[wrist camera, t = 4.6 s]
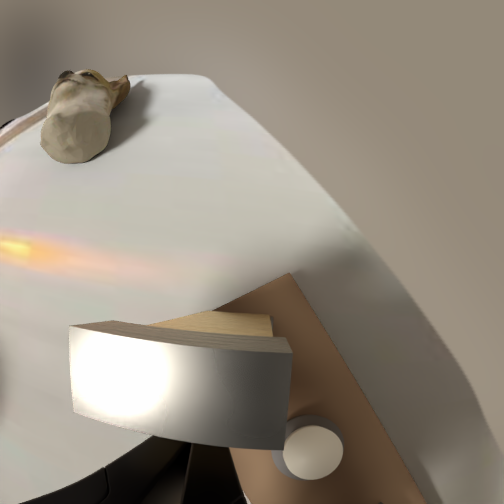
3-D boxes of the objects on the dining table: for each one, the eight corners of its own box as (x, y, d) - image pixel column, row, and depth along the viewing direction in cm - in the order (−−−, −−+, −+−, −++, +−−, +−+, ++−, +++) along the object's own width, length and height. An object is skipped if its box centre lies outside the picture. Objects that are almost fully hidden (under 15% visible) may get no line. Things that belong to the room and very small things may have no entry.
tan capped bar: (271, 339, 16) (283, 450, 4) (205, 335, 16) (74, 412, 4) (273, 310, 16) (293, 353, 4) (206, 306, 16) (69, 325, 4)
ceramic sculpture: (-3, 129, 16) (42, 67, 23) (39, 195, 23) (64, 119, 31) (106, 76, 17) (121, 34, 25) (136, 159, 24) (136, 92, 32)
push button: (298, 482, 11) (301, 489, 10) (272, 441, 12) (273, 445, 11) (345, 456, 11) (352, 460, 10) (320, 415, 12) (326, 417, 11)
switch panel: (327, 590, 8) (333, 606, 6) (169, 339, 17) (158, 330, 15) (432, 528, 9) (448, 537, 8) (287, 282, 18) (290, 267, 17)
